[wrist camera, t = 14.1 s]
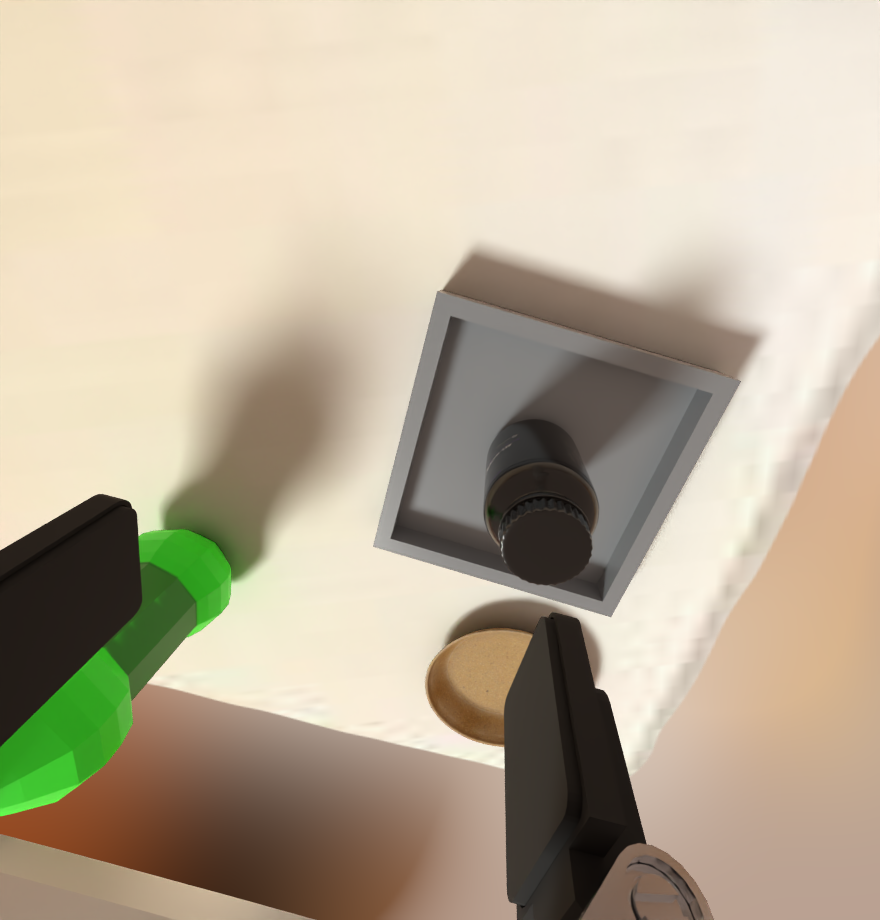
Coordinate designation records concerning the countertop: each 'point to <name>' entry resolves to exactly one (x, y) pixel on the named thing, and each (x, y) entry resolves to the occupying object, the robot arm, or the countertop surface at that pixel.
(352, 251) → the countertop surface
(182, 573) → the plastic bottle
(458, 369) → the tray
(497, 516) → the supplement bottle
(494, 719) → the plant saucer
